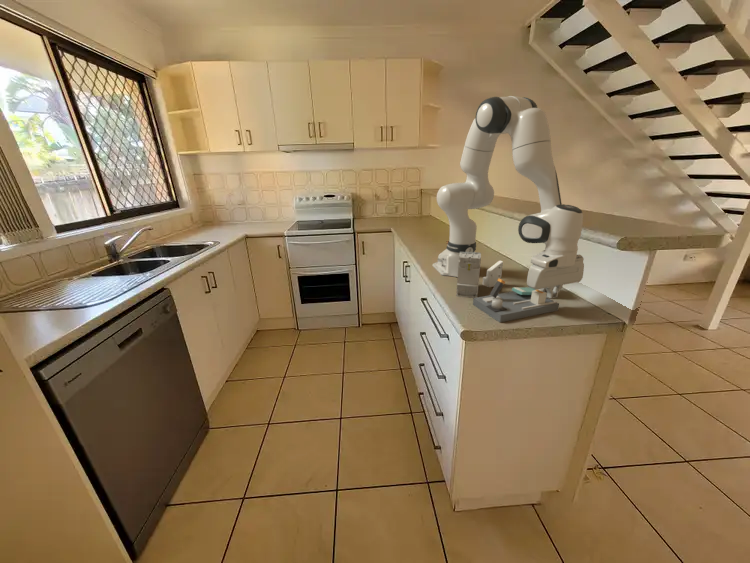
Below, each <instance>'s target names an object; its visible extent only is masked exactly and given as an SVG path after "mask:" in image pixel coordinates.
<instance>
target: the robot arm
mask: <svg viewBox="0 0 750 563" xmlns="http://www.w3.org/2000/svg"><path fill="white" fill-rule="evenodd" d="M506 134H508V135H509V136H510V139H511V154H512V161H513V162H512V163H513V165H514V168H515V171H516V172H517V173H518V174H519V175H521V176H522V177H524V178H526V179H528V180H530V181H531V182H532V183H533V184H534V185H535V186H536V188H537V192H538V200H539V204H540V212H537V213H533V214H529V215H526V216H525V217H523V218H522V219H521V220H520V221H519V224H518V228H517V229H518V230H517V231H518V235H519V237H520V239H521V240H522V241H523V242H525V243H528V244H544V245H545V248H544V250H542V251H540V252H539V253H537V254H535V255H533V256H531V258H530V263H531V265H530V266H529V269H528V272H527V278H526V285H527V287H530V288H533V289H535V290H537V289H542V288H546V291H547V296H546V297H548V299H555V298H558V297H559V293H560V291H561V290H562V289H563V286H565V285H569V284H574V283H580V282H581V281H582V280H583V278H584V270H585V269H584V268H585V263H584V259H585V258H584V257H583V255H581V254H578V250H579V248H578V242H579V240H580V238H581V235H582V230H583V222H584V213H583V211H582V209H581V208H579V207H578V206H574V205H571V204H563V203H562V197H561V192H560V185H559V179H558V174H557V170H556V167H555V163H554V159H553V158H554V157H553V150H552V140H551V130H550V127H549V120H548V117H547V115H546V112H545V110H543V109H542V108H539V107H538V104H537V103H536V102H535V101H534V100H533V99H531V98H529V97H524V96H523V97H521V96H516V95H513V96H512V95H509V96H492V97H489V98H488V97H487V98H486V99H484V100H483V101H482V102H480V104H479V105H478V106H477V109H476V113H475V117H474V119H473V120H472V123H471V125H470V128H469V130H468V133H467V135H466V138H465V142H464V146H463V151H462V152H461V153H462V154H461V158H460V162H459V167H460V169H461V170H462V172H463V173H464V174H466V180H465V182H452V183H448V184H445V185H442V186H440V187H439V189H438V191H437V193H436V204H437V205H438V207H439V208H440V209H441V210H442V211H443V212H444V213H445V215H446V217H447V219H448V223H449V238H448V239H449V240H447V241H446V244H447V245H446V248H445V249H444V250H443V251H441V252H440V253H439V254H438V256H437V261H436V262H434V263H432V267H433V268H434V269H435V270H436V271H437V272H438V273H439V274H440V275H441V276H448V277H449V276H450V277H455V278H456V277H457V278H458V264H459V254H460V252H476V251H477V241H476V240H477V238H476V237H477V223H476V222H475V220H472V218H470V217H469V210H475V209H481V208H484V207H487V206H489V205H490V204H491V203H493V200H494V198H495V191H494V187H493V185H492V184H491V183H490V180H489V169H490V166H491V161H492V157H493V154H494V151H495V147H496V144H497V140H498V138H499V137H500V136H501V135H506ZM554 286H555V287H554ZM552 289H553V290H552Z"/></svg>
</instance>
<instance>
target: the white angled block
mask: <svg viewBox="0 0 750 563" xmlns="http://www.w3.org/2000/svg"><path fill="white" fill-rule="evenodd" d="M503 263H504V261H503V260H497V262H496V263H494V264H493V265H492V266H491V267H489V268H488V269H487V270H486V276H483V277H482V286H485V287H487V288H492V287H493V288H494V286H495V284H496V283H497V280H498V278H499V279H501V280H502V272H503Z"/></svg>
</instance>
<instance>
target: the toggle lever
mask: <svg viewBox="0 0 750 563" xmlns="http://www.w3.org/2000/svg"><path fill="white" fill-rule="evenodd" d="M505 284H506V280H503V279H502V278H501V279H499V278H498V280H497V283H496V284H495V286H493V288H492V290H491V291H490V294H489V295H491V296H493V297H495V298H496V297H497V295H498V294H500V291H501V290H502V288H503V286H504V285H505Z"/></svg>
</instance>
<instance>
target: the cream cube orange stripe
mask: <svg viewBox="0 0 750 563" xmlns="http://www.w3.org/2000/svg"><path fill="white" fill-rule="evenodd" d="M546 294H547V293H546V292H544V291H542V290H540V289H539V290H533V291H532V295H531V301H530V302H532V303H534V304H536V305H538V304H543V303H545V300H546V297H547V296H546Z"/></svg>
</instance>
